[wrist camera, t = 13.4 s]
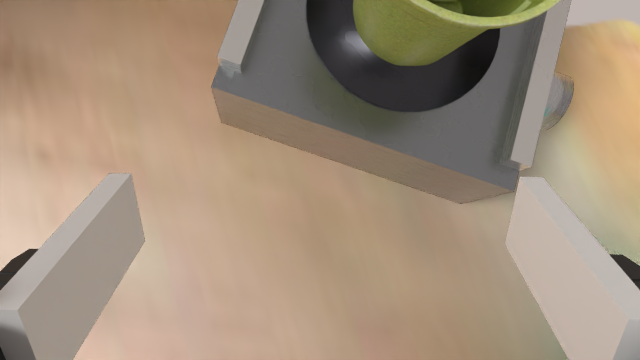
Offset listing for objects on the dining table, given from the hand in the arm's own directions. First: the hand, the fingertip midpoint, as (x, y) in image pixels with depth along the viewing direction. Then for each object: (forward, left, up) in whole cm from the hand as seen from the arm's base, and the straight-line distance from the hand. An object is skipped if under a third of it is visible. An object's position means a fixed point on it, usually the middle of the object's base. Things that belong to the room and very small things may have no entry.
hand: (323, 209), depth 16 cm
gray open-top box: (+3, +13, -15) cm, 20 cm away
